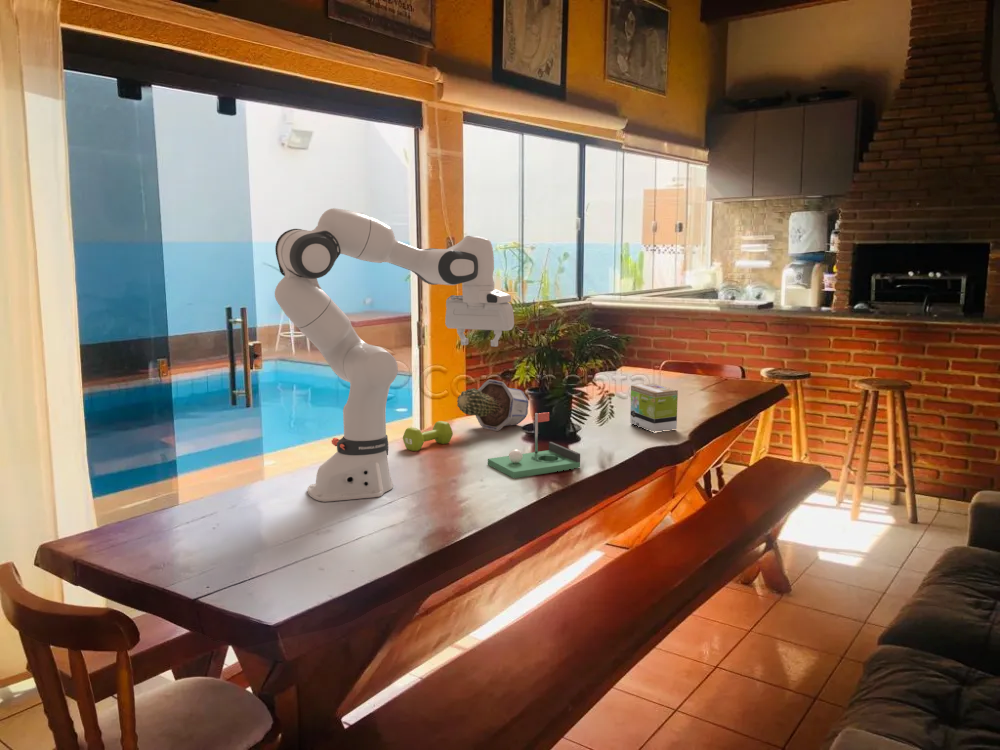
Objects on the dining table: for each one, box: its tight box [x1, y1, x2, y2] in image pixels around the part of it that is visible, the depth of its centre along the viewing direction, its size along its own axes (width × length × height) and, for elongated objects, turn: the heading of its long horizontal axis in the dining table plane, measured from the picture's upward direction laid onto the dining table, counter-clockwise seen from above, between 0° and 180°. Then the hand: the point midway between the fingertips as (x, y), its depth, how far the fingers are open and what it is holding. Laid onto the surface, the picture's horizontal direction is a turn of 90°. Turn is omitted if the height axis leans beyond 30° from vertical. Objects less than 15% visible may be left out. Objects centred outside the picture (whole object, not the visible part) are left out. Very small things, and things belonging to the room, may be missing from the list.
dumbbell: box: [402, 420, 454, 452], centre depth 260 cm, size 16×8×7 cm, turn 135°
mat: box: [487, 441, 581, 479], centre depth 236 cm, size 22×16×4 cm
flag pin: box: [534, 412, 550, 453], centre depth 245 cm, size 5×1×14 cm, turn 118°
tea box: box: [629, 382, 679, 432], centre depth 284 cm, size 15×10×15 cm, turn 25°
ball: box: [508, 449, 523, 463], centre depth 233 cm, size 4×4×4 cm
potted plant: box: [456, 379, 530, 432], centre depth 282 cm, size 18×18×30 cm
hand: (479, 345), depth 224 cm, fingers open, 8 cm apart
